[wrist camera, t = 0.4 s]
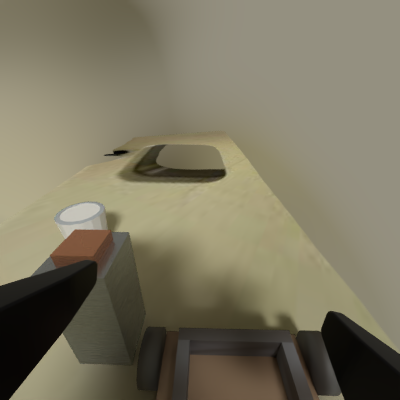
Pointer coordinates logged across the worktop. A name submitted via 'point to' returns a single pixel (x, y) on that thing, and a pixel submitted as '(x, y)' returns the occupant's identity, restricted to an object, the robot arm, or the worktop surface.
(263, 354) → the chassis
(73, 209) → the shot glass
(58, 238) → the worktop surface
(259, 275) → the worktop surface
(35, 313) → the robot arm
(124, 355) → the engine block
